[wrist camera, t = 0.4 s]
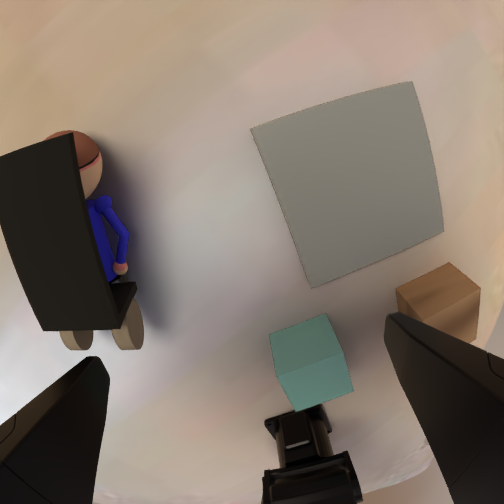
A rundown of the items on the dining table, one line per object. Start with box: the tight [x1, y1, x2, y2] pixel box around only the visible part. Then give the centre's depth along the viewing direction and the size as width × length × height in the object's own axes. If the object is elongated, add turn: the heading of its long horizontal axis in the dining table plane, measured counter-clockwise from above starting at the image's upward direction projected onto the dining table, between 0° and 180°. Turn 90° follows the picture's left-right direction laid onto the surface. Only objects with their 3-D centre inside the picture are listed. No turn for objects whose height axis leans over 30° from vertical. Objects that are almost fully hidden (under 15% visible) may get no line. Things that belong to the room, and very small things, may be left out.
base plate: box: [250, 81, 444, 289], centre depth 20 cm, size 12×12×1 cm
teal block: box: [269, 313, 354, 412], centre depth 24 cm, size 5×5×5 cm
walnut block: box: [396, 262, 481, 343], centre depth 23 cm, size 6×6×5 cm
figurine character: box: [0, 130, 144, 350], centre depth 18 cm, size 7×8×15 cm
